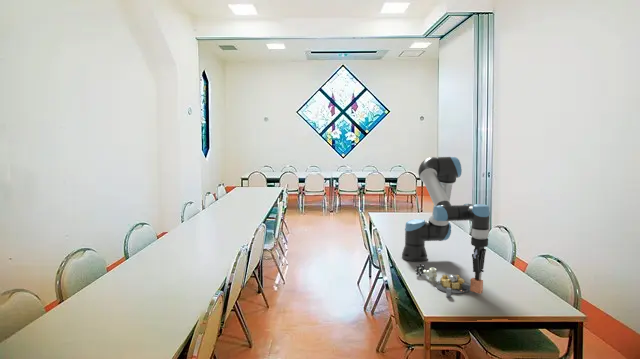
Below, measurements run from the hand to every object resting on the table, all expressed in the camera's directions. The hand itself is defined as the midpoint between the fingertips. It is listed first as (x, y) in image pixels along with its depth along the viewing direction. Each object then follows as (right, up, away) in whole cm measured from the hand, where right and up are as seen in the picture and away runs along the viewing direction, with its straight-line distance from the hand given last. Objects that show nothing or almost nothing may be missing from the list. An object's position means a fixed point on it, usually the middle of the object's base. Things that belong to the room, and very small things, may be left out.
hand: (477, 285), depth 204 cm
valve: (-19, -2, +21) cm, 28 cm away
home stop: (-15, -5, -3) cm, 16 cm away
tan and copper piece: (-7, -2, +4) cm, 8 cm away
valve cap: (-10, -3, +8) cm, 13 cm away
